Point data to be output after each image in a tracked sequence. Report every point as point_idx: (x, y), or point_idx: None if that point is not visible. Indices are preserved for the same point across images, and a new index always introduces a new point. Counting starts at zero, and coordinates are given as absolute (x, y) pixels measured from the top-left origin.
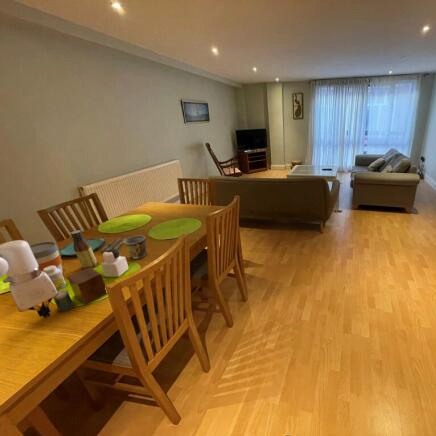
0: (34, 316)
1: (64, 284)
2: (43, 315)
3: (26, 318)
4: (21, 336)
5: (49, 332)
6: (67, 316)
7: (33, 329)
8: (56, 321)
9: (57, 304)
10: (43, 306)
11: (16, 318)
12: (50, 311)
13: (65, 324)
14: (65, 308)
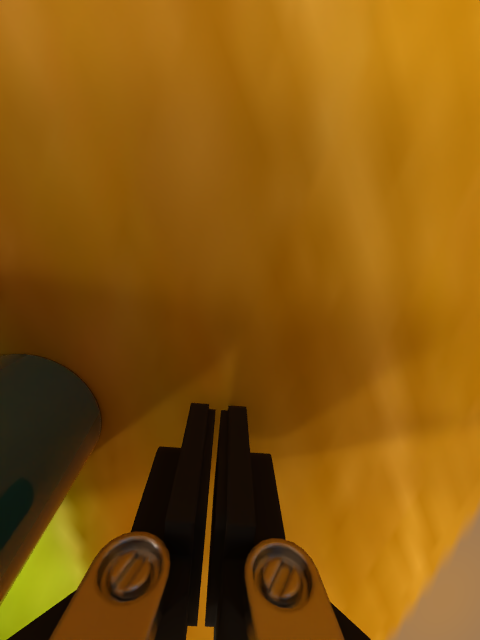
0: None
1: None
2: (247, 433)
3: None
4: (473, 343)
5: (341, 90)
6: (83, 222)
7: (372, 349)
8: (197, 252)
9: (29, 485)
10: (184, 585)
11: None
12: (161, 448)
13: (164, 46)
14: (29, 373)
